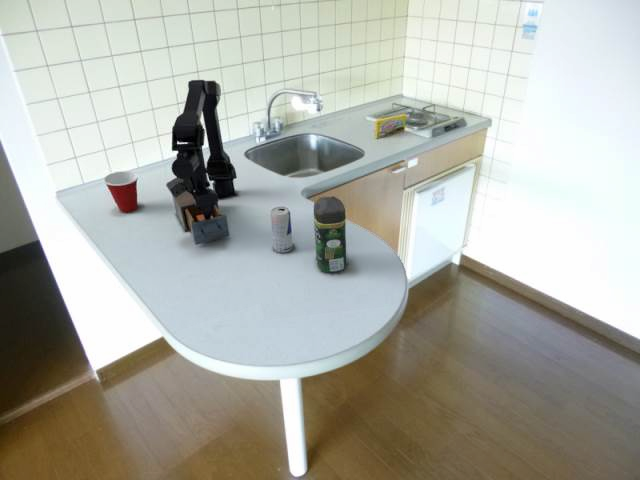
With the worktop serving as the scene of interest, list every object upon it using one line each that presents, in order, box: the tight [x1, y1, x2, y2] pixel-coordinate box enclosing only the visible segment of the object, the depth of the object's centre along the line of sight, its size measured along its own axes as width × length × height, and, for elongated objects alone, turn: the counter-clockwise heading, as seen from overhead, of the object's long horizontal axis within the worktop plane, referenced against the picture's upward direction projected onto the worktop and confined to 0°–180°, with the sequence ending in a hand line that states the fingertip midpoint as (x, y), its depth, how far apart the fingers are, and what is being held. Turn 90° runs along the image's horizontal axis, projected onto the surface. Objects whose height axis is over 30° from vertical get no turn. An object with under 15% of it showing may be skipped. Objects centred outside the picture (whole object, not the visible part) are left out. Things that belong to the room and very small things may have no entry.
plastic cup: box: [102, 170, 139, 214], centre depth 156 cm, size 11×11×12 cm
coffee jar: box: [313, 196, 347, 274], centre depth 121 cm, size 10×8×19 cm
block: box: [196, 214, 213, 222], centre depth 140 cm, size 4×4×4 cm
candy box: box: [373, 113, 407, 140], centre depth 211 cm, size 16×2×8 cm, turn 120°
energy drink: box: [270, 206, 294, 253], centre depth 130 cm, size 5×5×12 cm
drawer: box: [184, 205, 230, 246], centre depth 138 cm, size 17×10×7 cm, turn 27°
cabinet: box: [171, 187, 220, 232], centre depth 149 cm, size 13×11×8 cm
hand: (204, 215), depth 138 cm, fingers open, 8 cm apart
